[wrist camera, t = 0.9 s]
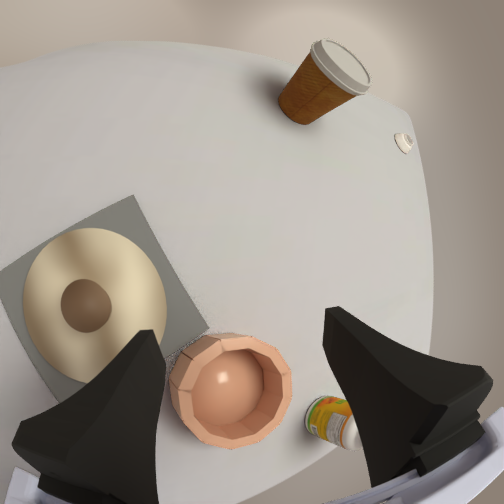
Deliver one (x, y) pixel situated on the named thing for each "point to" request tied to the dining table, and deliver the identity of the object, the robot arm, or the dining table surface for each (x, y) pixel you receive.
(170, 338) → the mat
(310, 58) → the disposable coffee cup
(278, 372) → the bowl
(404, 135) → the white tapered round cap
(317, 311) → the dining table surface
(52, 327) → the lid
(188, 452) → the dining table surface
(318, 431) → the supplement bottle
